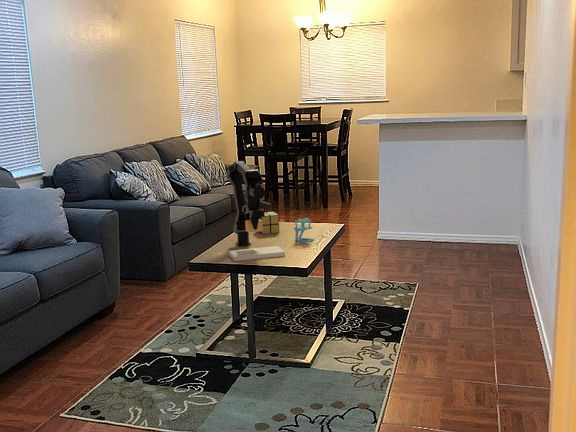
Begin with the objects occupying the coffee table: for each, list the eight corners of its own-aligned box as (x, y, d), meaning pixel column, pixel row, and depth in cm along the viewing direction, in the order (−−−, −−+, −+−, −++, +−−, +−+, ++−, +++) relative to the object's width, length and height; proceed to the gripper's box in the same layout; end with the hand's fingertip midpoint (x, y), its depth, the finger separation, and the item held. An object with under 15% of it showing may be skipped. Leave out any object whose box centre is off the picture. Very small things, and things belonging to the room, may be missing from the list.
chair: (301, 238, 328) (300, 215, 326) (314, 240, 323) (313, 217, 320) (292, 241, 322) (291, 218, 320) (305, 243, 317) (304, 219, 315)
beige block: (245, 230, 302) (245, 220, 301) (259, 229, 304) (259, 219, 304) (248, 232, 298) (247, 222, 297) (262, 231, 300) (262, 220, 299)
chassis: (229, 254, 299) (228, 250, 298) (278, 249, 305) (277, 245, 305) (234, 261, 287) (234, 256, 287) (285, 255, 294) (284, 251, 294)
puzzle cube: (257, 230, 349) (256, 213, 347) (274, 229, 352) (273, 211, 350) (261, 234, 340) (261, 216, 338) (279, 232, 342) (279, 214, 340)
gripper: (274, 197, 292) (276, 230, 295) (263, 192, 309) (264, 223, 312) (251, 199, 288) (252, 233, 291) (241, 194, 306) (242, 225, 309)
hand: (253, 228), depth 301 cm, fingers closed on beige block, 5 cm apart
